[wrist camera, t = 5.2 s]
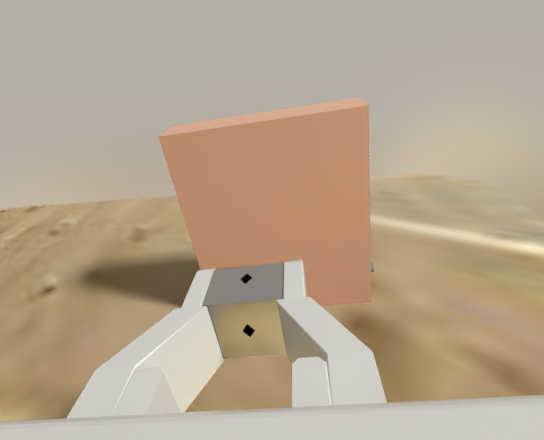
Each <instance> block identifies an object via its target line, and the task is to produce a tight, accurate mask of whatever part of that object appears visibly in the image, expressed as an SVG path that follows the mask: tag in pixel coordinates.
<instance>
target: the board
mask: <svg viewBox="0 0 544 440" xmlns="http://www.w3.org/2000/svg"><path fill="white" fill-rule="evenodd" d="M159 140H160V143H161V147H162V150H163V153H164V156H165V159H166V162H167V165H168V168H169V172H170V175H171V178H172V181H173V185H174V188H175V191H176V194H177V197H178V201H179V204H180V207H181V210H182V213H183V216H184V220H185V223H186V226H187V229H188V232H189V235H190V238H191V242H192V245H193V248H194V251H195V254H196V257H197V261H198V264H199V267H200V270H204V269H213V268H215V269H216V268H226V267H239V266H255V265H264V264H272V263H281V262H287V261H294V260H301V259H302V261H303V265H304V273H305V281H306V289H307V297H311V298H312V299H313V300H314V301H316V302H317V303H318V304H319V305H320V306H326V305H339V304H351V303H364V302H371V246H370V179H369V114H368V105H367V104H366V103H365V102H363V101H362V100H361V99H359V98H353V99H346V100H340V101H333V102H326V103H320V104H314V105H307V106H300V107H294V108H287V109H280V110H274V111H267V112H261V113H255V114H248V115H241V116H235V117H228V118H221V119H215V120H208V121H202V122H195V123H189V124H182V125H175V126H173V127H172V128H170V129H169V130H167V131H166V132H164V133H163V134H162V135H160V136H159Z"/></svg>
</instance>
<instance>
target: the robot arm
mask: <svg viewBox="0 0 544 440" xmlns="http://www.w3.org/2000/svg"><path fill="white" fill-rule="evenodd" d="M269 355H287V357H288V358H289V360H290V361H291V363H292V407H285V408H265V409H244V410H224V411H203V412H185V411H186V409H187V408H188V407H189V405H190V404H191V403H192V401H193V400H194V399H195V398H196V396H197V395H198V394H199V392H200V391H201V390H202V389H203V387H204V386H205V385H206V383H207V382H208V381H209V379H210V378H211V377H212V376H213V374H214V373H215V372H216V370H217V369H218V368H219V367H220V365H221V364H222V363H223V361H224V360H223V359H229V358H240V357H250V356H269ZM0 440H544V395H530V396H510V397H489V398H469V399H448V400H428V401H408V402H387V401H386V398H385V394H384V391H383V387H382V383H381V380H380V376H379V373H378V369H377V366H376V362H375V358H374V355H373V352H372V351H371V350H370V349H369V348H368V347H366V346H365V345H364V344H363V343H362V342H361V341H360V340H359V339H357V338H356V337H355V336H354V335H353V334H352V333H351V332H349V331H348V330H347V329H346V328H345V327H344V326H343V325H342V324H340V323H339V322H338V321H337V320H336V319H335V318H334V317H333V316H331V315H330V314H329V313H328V312H327V311H326V310H325V309H323V308H322V307H321V306H320V305H319V304H318V303H317V302H316V301H314V300H313V299H312V298H311V297H307V289H306V281H305V273H304V265H303V261H302V259H301V260H294V261H287V262H281V263H272V264H264V265H255V266H239V267H226V268H216V269H215V268H213V269H204V270H199V271H197V272H196V274H195V276H194V279H193V281H192V283H191V286H190V288H189V290H188V293H187V295H186V297H185V300H184V302H183V304H182V307H181V308H178V309H175V310H173V311H172V312H171V313H169V314H168V315H167V316H165V317H164V318H163V319H162V320H160V321H159V322H158V323H156V324H155V325H154V326H152V327H151V328H150V329H148V330H147V331H146V332H145V333H143V334H142V335H141V336H139V337H138V338H137V339H135V340H134V341H133V342H132V343H130V344H129V345H128V346H126V347H125V348H124V349H122V350H121V351H120V352H118V353H117V354H116V355H115V356H113V357H112V358H111V359H109V360H108V361H107V362H105V363H104V364H103V365H101V366H100V367H99V368H98V369H96V371H95V372H94V374H93V375H92V377H91V379H90V380H89V382H88V384H87V385H86V387H85V388H84V390H83V392H82V393H81V395H80V397H79V398H78V400H77V401H76V403H75V405H74V406H73V408H72V410H71V411H70V413H69V414H68V416H67V418H62V419H42V420H21V421H1V422H0Z"/></svg>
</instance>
